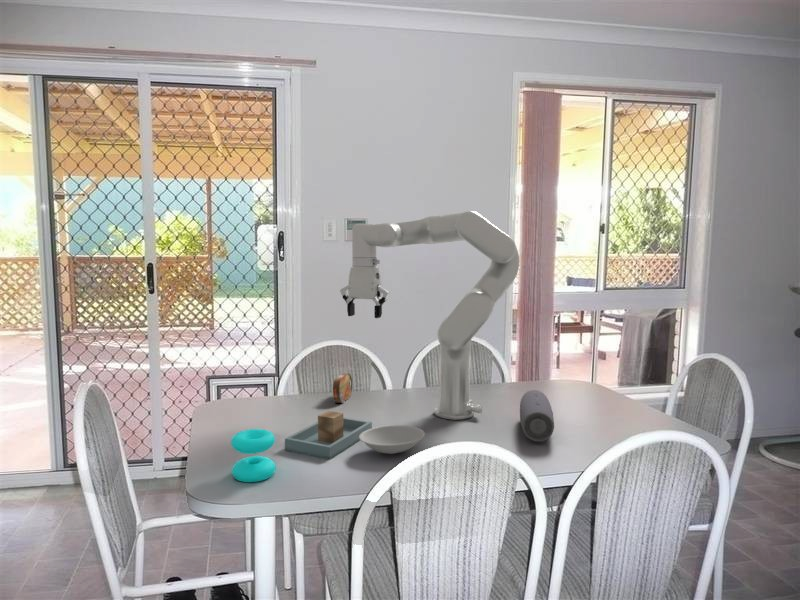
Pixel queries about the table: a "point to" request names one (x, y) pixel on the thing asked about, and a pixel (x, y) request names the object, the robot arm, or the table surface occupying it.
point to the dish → (391, 438)
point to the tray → (311, 446)
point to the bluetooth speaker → (536, 416)
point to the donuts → (254, 465)
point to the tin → (342, 388)
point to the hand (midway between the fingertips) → (364, 316)
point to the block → (330, 426)
